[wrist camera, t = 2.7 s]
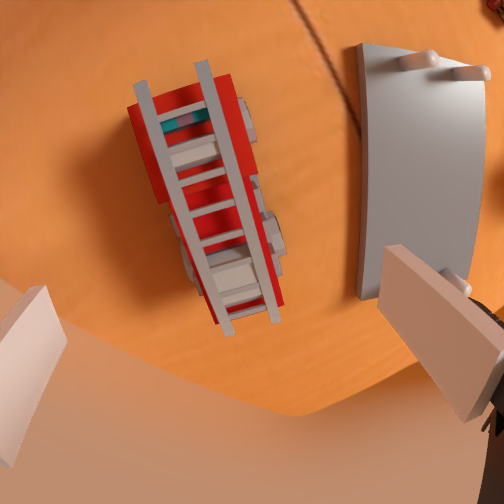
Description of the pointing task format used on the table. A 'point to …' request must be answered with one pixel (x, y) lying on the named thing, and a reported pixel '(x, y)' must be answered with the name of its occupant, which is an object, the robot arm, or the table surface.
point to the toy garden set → (496, 6)
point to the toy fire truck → (212, 193)
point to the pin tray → (419, 161)
